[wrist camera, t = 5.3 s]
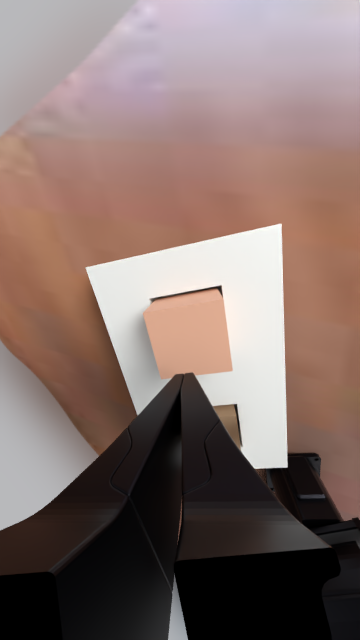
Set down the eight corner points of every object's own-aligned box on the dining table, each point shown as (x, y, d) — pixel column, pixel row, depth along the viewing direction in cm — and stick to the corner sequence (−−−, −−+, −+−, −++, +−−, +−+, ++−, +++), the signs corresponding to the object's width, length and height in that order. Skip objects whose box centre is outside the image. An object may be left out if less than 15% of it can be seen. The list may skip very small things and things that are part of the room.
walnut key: (233, 420, 21) (241, 455, 18) (191, 423, 22) (190, 458, 18) (228, 384, 20) (236, 415, 16) (183, 389, 20) (180, 419, 17)
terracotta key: (224, 344, 16) (232, 371, 12) (169, 351, 17) (161, 379, 13) (216, 287, 14) (223, 298, 11) (156, 298, 15) (142, 312, 11)
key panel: (272, 432, 23) (287, 467, 19) (163, 439, 25) (157, 472, 21) (261, 231, 16) (281, 223, 12) (109, 265, 18) (85, 267, 14)
